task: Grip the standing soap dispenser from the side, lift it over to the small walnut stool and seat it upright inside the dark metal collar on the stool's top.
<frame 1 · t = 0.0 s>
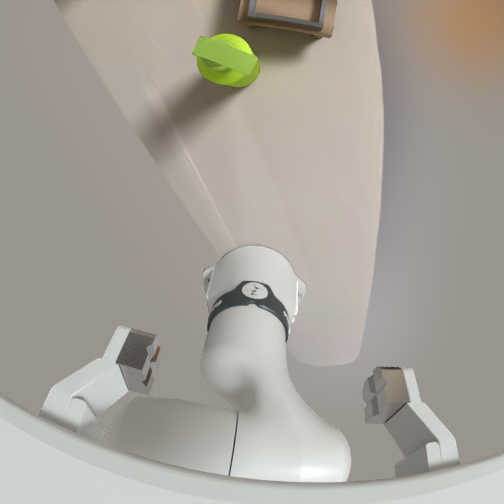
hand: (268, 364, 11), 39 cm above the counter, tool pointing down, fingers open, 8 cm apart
soap dispenser: (242, 70, 39), on the counter
stool: (289, 3, 33), on the counter
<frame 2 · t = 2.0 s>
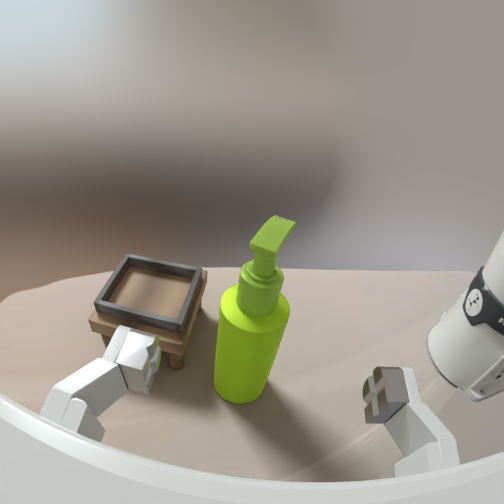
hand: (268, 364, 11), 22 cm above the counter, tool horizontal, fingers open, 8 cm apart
soap dispenser: (240, 379, 34), on the counter
stool: (155, 326, 38), on the counter
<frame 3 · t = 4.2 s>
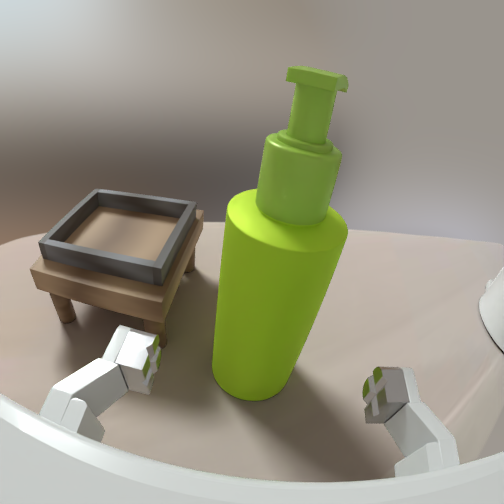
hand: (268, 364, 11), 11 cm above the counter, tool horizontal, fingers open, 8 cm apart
soap dispenser: (253, 363, 23), on the counter
stool: (129, 290, 26), on the counter
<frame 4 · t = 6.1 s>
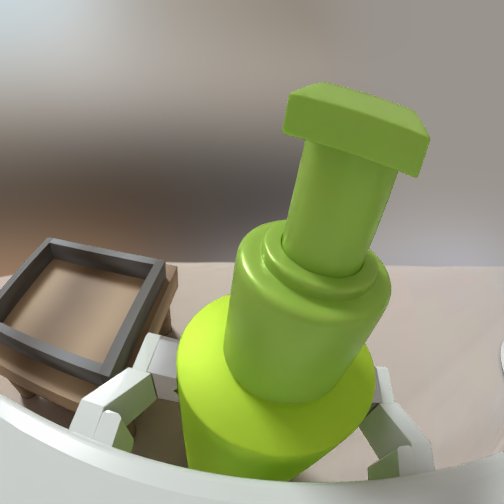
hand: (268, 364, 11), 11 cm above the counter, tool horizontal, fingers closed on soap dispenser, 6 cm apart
soap dispenser: (237, 459, 16), on the counter, touching gripper
stool: (94, 359, 20), on the counter
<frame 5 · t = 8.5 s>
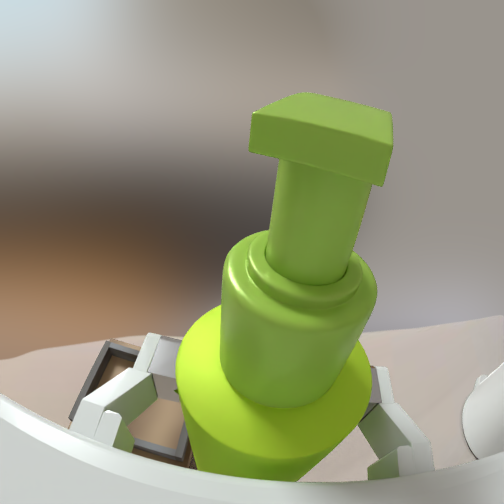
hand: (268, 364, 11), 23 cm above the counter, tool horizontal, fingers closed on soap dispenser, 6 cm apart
soap dispenser: (247, 462, 16), point 11 cm above the counter, touching gripper
stool: (149, 424, 27), on the counter
when the fingers open (18 cm above the counter, at t = 10.8 s): soap dispenser stays where it is, resting on stool.
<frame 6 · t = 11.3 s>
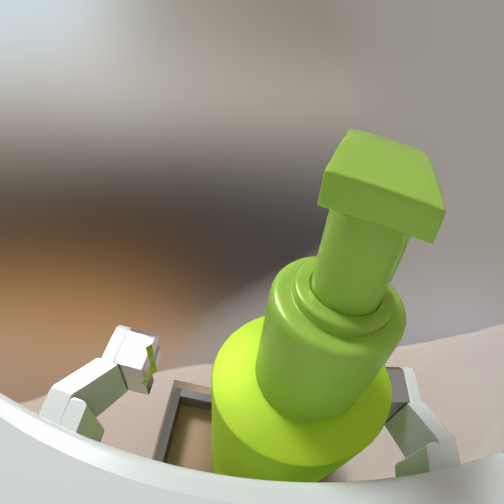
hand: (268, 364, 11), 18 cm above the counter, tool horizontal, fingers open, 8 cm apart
soap dispenser: (260, 465, 17), point 6 cm above the counter, touching gripper, stool
stool: (228, 479, 20), on the counter
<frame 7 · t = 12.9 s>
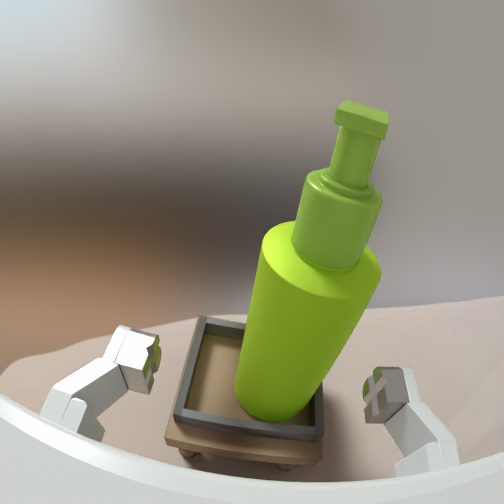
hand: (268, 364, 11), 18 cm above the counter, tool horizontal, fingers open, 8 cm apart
soap dispenser: (274, 384, 22), point 6 cm above the counter, touching stool
stool: (243, 412, 26), on the counter
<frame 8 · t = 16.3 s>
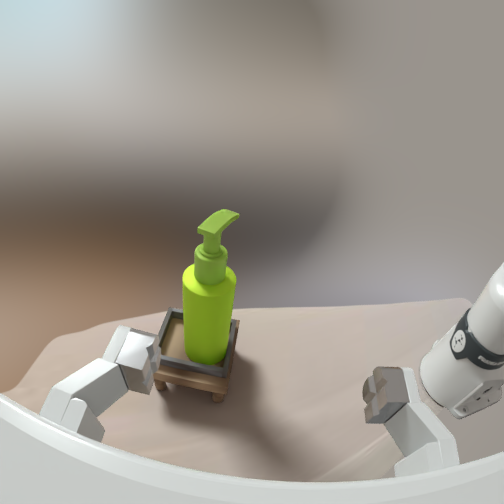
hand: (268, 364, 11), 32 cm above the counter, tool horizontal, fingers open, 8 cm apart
soap dispenser: (207, 346, 41), point 6 cm above the counter, touching stool
stool: (195, 366, 45), on the counter
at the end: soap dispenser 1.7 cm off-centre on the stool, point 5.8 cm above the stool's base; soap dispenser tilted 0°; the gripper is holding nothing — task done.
